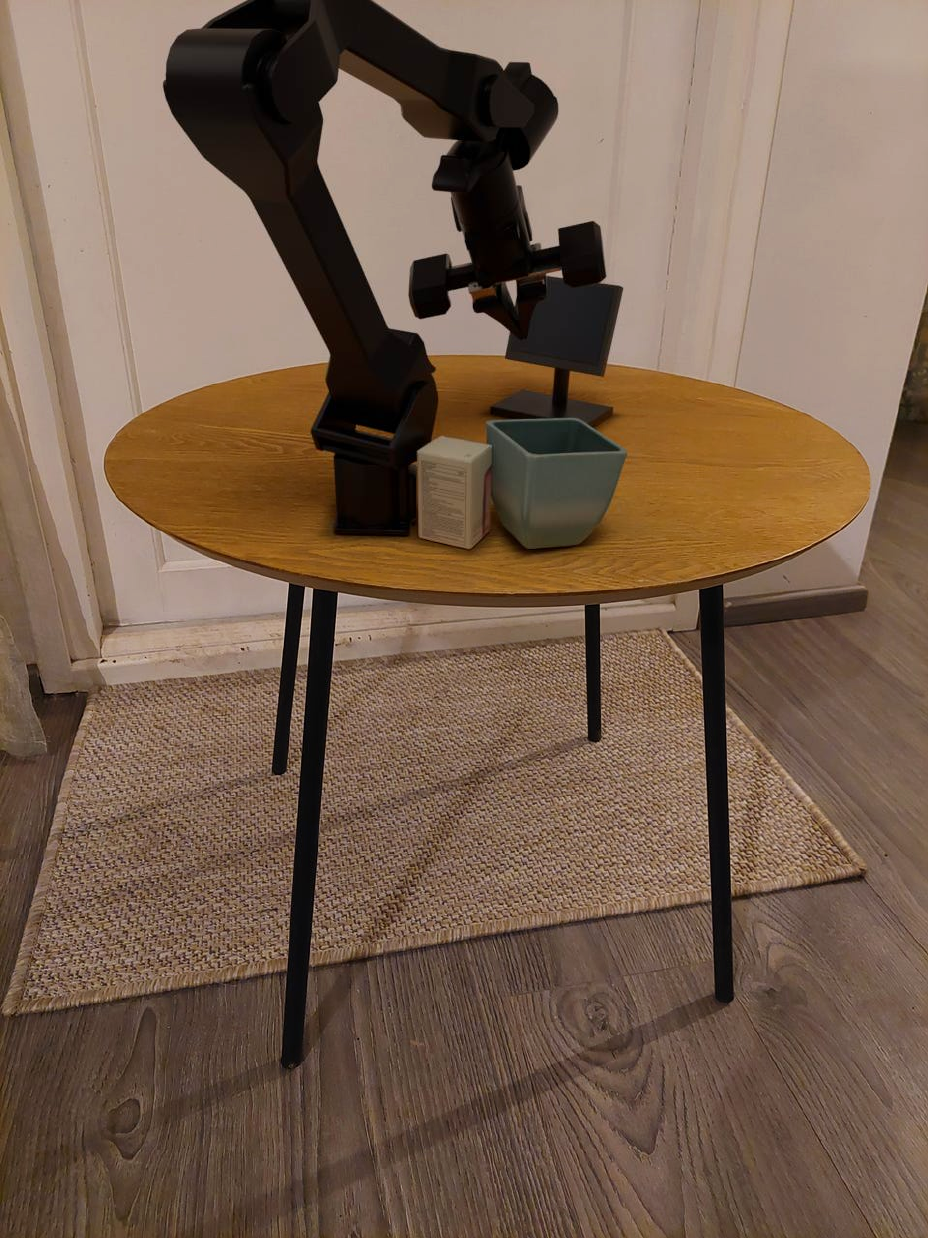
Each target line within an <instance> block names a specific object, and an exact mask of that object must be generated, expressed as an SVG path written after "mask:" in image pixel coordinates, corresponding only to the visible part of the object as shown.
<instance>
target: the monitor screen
mask: <svg viewBox="0 0 928 1238" xmlns="http://www.w3.org/2000/svg"><path fill="white" fill-rule="evenodd" d="M546 276H547V294H548V295H547V298H546V299H544V300H542V301H538V302H537V304H536V307H535V309H534V311H533V314H532V316H531V320H530V326H529V331H528V336H527V339H523V340H519V339H518V338H517V337H515V336H514V335H513V334H512V333H511V332H510V331H509V335H508V339H507V346H506V349H505V356H504V359H505V360H509V361H514V362H521V363H525V364H530V365H536V366H541V367H547V368H551V369H554V368H557V369H562V370H568V371H570V372H574V373H579V374H584V375H589V376H590V375H592V376H595V377H602V378H604V377H605V373H606V369H607V365H608V362H609V361H608V360H609V356H610V352H611V348H612V342H613V338H614V334H615V333H614V332H615V328H616V325H617V320H618V316H619V310H620V306H621V302H622V297H623V292H624V286H621V285H618V284H612V283H611V284H610V283H604V282H600V283H595V284H590V285H585V286H580V287H575V288H573V287H571V286H569V285H567V284H565V283H564V281H563V277H559V276H551V275H546ZM514 306H515V309H516V311H517V314H518V306H517V296H516V298H515V302H514ZM518 316H519V315H518Z"/></svg>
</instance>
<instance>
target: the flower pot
mask: <svg viewBox="0 0 928 1238" xmlns="http://www.w3.org/2000/svg"><path fill="white" fill-rule="evenodd" d="M485 424H486V425H485V426H486V427H485V428H486V431H485V433H486V444H489V445H492V470H491V501H492V503H493V506H494V508H495V511H496V513H497V515H498V517H499V519H500V521H501V524H502V526H503V528H504V529H506V530H507V531H508V532H509V533H510V535H512V537H514V538H515V539H516V540H517V541H518V542H519V543H520V544H521V546H523V547H524V548H526V549H529V550H533V549H534V550H535V549H544V548H545V549H546V548H556V547H569V546H570V547H571V546H578V545H580V544H582V542H583V541H584V540H585V539H587V538H588V537H589V536H590V535H591V534H592V533H593V532H594V530H595V529H596V528H597V527H598V525H599V524H600V523H601V521H602V520H603V518H604V516H605V515H606V513H607V511H608V510H609V507H610V505H611V503H612V501H613V497H614V495H615V492H616V489H617V486H618V482H619V480H620V477H621V473H622V472H623V471H622V470H623V468H624V464H625V462H626V458H627V455H628V453H629V452H628V449H626V448H624V447H623V446H621V445H620V444H618V443H617V442H616V441H614V440H612V439H611V438H609V437H608V436H606V435H605V434H604V433H602V432H600V431H598V430H597V429H595V427H594V428H592V427H591V426H589V425H588V424H586V423H585V422H584V421H582V420H580V419H578V418H552V419H493V420H487V421H486V423H485Z"/></svg>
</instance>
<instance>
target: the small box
mask: <svg viewBox="0 0 928 1238" xmlns="http://www.w3.org/2000/svg"><path fill="white" fill-rule="evenodd" d="M416 466H417V477H418V508H417V517H418V519H417V520H418V522H417V523H418V525H417V527H418V529H417V530H418V538H419V539H423V540H428V541H430V542H436V543H441V544H445V545H449V546H453V547H457V548H462V549H465V550H471V549H472V548H474V547H475V546H476V545H477V544H479V542H480V541H481V540H482V539H483V538H484V537H485V536H486V535H487V534H488V533H489V532H490V531H491V511H492V510H491V508H492V507H491V506H492V497H491V470H492V445H489V444H487V443H483V442H478V441H473V440H466V439H461V438H456V437H449V436H445V435H439V436H438V437H436V438H435V439H434V440H431V442H430V443H429V444H427V445H426V446H424V447H422V448H421V449H419V450H418V451H417V461H416Z"/></svg>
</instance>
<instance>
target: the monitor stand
mask: <svg viewBox="0 0 928 1238" xmlns="http://www.w3.org/2000/svg"><path fill="white" fill-rule="evenodd" d="M553 369H554V370H553V385H552V394H550V393H545V392H539V391H534V390H529V389H524V388H522V389H520V390H518V391H516V392H514V393H512V394H510V395H509V396H507V397H505V398H502V399H501V400H499V401H497V402H495V403H493V404H491V405H490V406H489V414H490V415H493V416H497V417H502V418H507V419H511V420H514V419H552V418H578V419H580V420H582V421H584V422H585V423H586V424H588V425H589V426H591V427H592V428H594V429H595V427H597V426H599V425H600V424H601V423H603V422H605V421H606V420H607V419H609V418H610V417H612V416H613V414H614V407H613V406H610V405H604V404H599V403H595V402H589V401H584V400H580V399H574V398H569V387H570V377H571V376H570V375H571V371H568V370H562V369H557V368H553Z"/></svg>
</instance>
